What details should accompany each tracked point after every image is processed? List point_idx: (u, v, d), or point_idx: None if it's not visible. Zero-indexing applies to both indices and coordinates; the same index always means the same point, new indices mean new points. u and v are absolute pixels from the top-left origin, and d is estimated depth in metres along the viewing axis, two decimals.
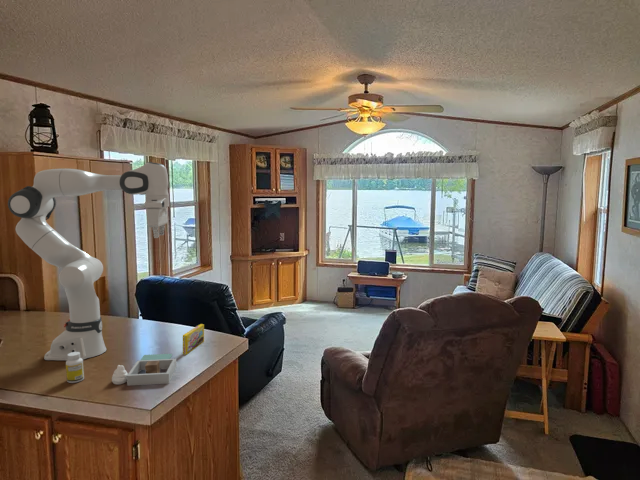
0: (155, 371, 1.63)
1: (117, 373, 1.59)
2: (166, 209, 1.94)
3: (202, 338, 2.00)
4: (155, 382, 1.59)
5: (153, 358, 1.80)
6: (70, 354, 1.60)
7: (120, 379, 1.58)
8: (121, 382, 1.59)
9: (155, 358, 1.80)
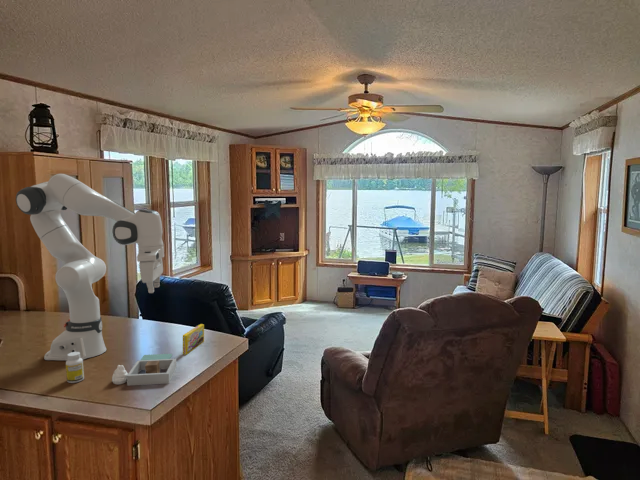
0: (155, 371, 1.63)
1: (117, 373, 1.59)
2: (161, 258, 1.77)
3: (202, 338, 2.00)
4: (155, 382, 1.59)
5: (153, 358, 1.80)
6: (70, 354, 1.60)
7: (120, 379, 1.58)
8: (121, 382, 1.59)
9: (155, 358, 1.80)
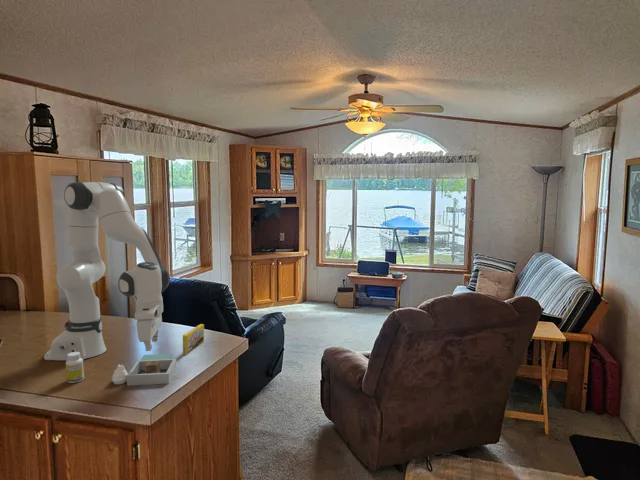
0: (155, 371, 1.63)
1: (117, 373, 1.59)
2: None
3: (202, 338, 2.00)
4: (155, 382, 1.59)
5: (153, 358, 1.80)
6: (70, 354, 1.60)
7: (120, 379, 1.58)
8: (121, 382, 1.59)
9: (155, 358, 1.80)
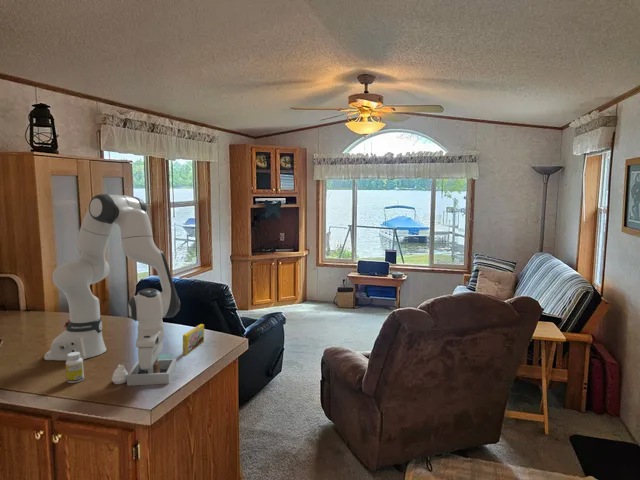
0: (155, 371, 1.63)
1: (118, 372, 1.59)
2: None
3: (202, 338, 2.00)
4: (155, 382, 1.59)
5: None
6: (70, 354, 1.60)
7: (120, 379, 1.59)
8: (121, 382, 1.59)
9: None
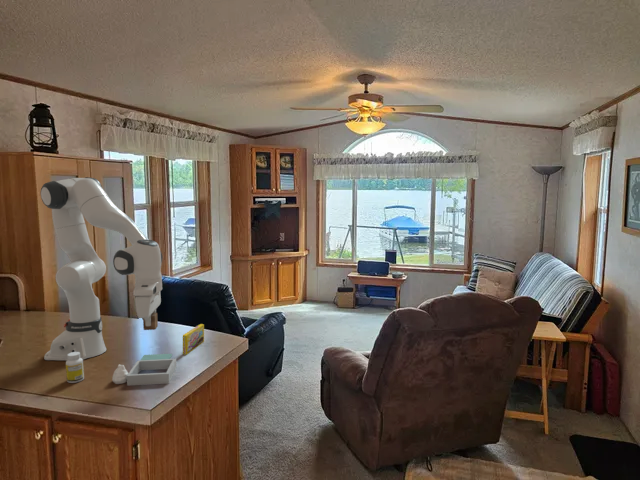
0: (153, 322, 1.62)
1: (118, 372, 1.59)
2: None
3: (202, 338, 2.00)
4: (155, 382, 1.59)
5: (153, 358, 1.80)
6: (70, 354, 1.60)
7: (121, 378, 1.59)
8: (122, 381, 1.59)
9: (155, 358, 1.80)
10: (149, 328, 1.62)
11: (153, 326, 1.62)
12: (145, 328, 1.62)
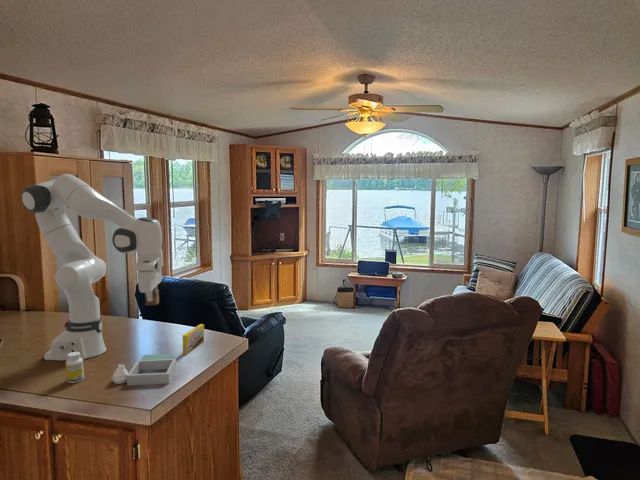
0: (154, 298, 1.66)
1: (118, 372, 1.59)
2: (160, 266, 1.75)
3: (202, 338, 2.00)
4: (155, 382, 1.59)
5: (153, 358, 1.80)
6: (70, 354, 1.60)
7: (121, 378, 1.59)
8: (122, 381, 1.59)
9: (155, 358, 1.80)
10: (151, 303, 1.66)
11: (155, 301, 1.66)
12: (147, 303, 1.66)
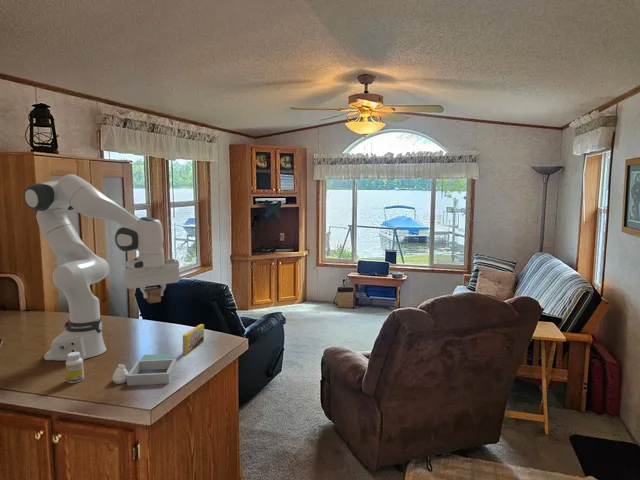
0: (149, 296, 1.69)
1: (118, 372, 1.59)
2: (173, 267, 1.74)
3: (202, 338, 2.00)
4: (155, 382, 1.59)
5: (153, 358, 1.80)
6: (70, 354, 1.60)
7: (121, 378, 1.59)
8: (122, 381, 1.59)
9: (155, 358, 1.80)
10: (148, 301, 1.71)
11: (149, 300, 1.70)
12: (147, 300, 1.72)
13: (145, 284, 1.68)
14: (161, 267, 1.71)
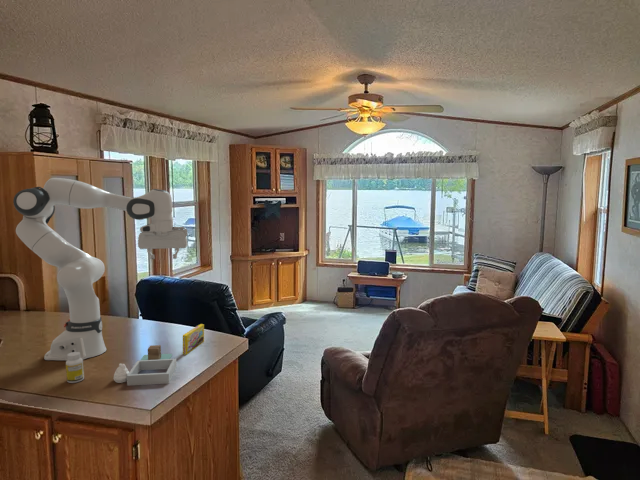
0: None
1: (119, 371, 1.60)
2: (180, 234, 1.96)
3: (202, 338, 2.00)
4: (155, 382, 1.59)
5: None
6: (70, 354, 1.60)
7: (122, 377, 1.60)
8: (123, 380, 1.60)
9: None
10: None
11: None
12: None
13: (154, 246, 1.95)
14: (168, 233, 1.95)
